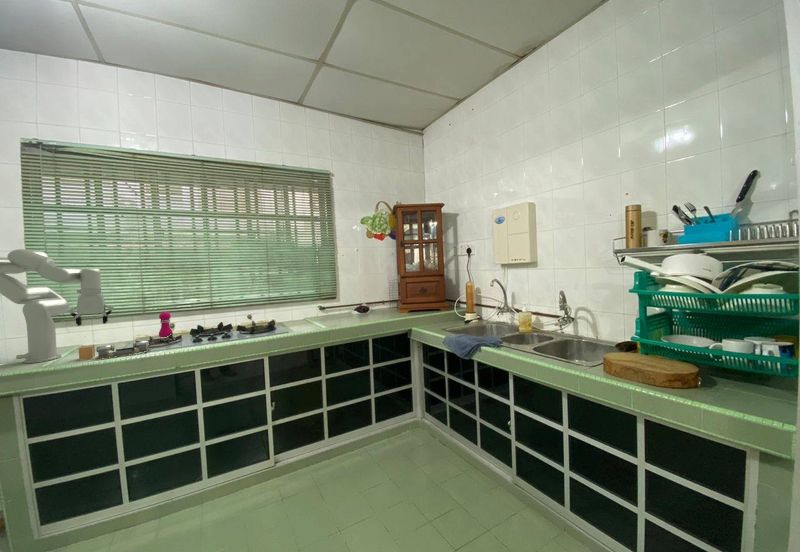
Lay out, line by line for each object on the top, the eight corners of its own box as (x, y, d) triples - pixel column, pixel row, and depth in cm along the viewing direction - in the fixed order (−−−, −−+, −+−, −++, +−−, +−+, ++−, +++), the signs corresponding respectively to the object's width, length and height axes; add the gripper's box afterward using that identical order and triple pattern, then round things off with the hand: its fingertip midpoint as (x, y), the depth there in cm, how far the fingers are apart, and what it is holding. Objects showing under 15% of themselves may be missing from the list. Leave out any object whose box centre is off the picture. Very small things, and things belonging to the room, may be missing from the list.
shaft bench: (94, 360, 154) (94, 347, 154) (100, 355, 162) (99, 344, 162) (147, 353, 165) (147, 341, 165) (150, 349, 174) (149, 338, 174)
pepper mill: (168, 341, 192) (166, 310, 192) (156, 342, 192) (154, 310, 191) (175, 339, 199) (174, 308, 199) (164, 339, 199) (162, 309, 198)
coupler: (91, 358, 157) (91, 347, 157) (78, 360, 155) (78, 348, 155) (95, 356, 162) (94, 344, 162) (82, 357, 160) (82, 346, 160)
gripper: (64, 293, 152) (66, 327, 153) (111, 291, 161) (112, 323, 162) (70, 292, 159) (72, 325, 159) (115, 290, 168) (116, 321, 168)
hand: (92, 324), depth 160 cm, fingers open, 9 cm apart
